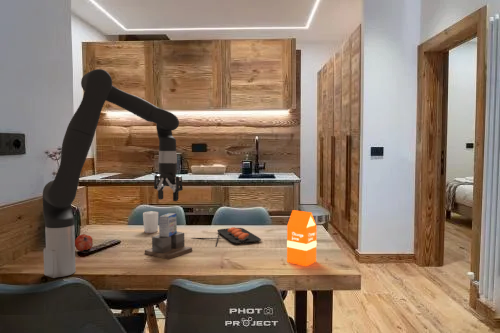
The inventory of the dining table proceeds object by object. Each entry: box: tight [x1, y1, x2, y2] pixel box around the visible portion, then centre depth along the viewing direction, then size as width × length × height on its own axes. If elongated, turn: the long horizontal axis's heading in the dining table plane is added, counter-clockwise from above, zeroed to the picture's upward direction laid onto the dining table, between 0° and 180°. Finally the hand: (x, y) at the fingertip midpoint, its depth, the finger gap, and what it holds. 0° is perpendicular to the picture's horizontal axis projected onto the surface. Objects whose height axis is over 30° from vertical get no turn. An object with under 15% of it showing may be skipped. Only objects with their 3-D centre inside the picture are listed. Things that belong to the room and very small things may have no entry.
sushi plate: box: [192, 226, 262, 248], centre depth 187 cm, size 29×30×4 cm
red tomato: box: [75, 233, 94, 252], centre depth 166 cm, size 7×7×10 cm
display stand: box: [144, 231, 193, 260], centre depth 163 cm, size 14×14×8 cm
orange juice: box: [286, 209, 318, 267], centre depth 150 cm, size 8×9×20 cm
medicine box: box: [158, 212, 178, 237], centre depth 163 cm, size 8×4×9 cm, turn 166°
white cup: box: [142, 210, 159, 234], centre depth 202 cm, size 8×8×10 cm
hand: (168, 200), depth 162 cm, fingers open, 8 cm apart
